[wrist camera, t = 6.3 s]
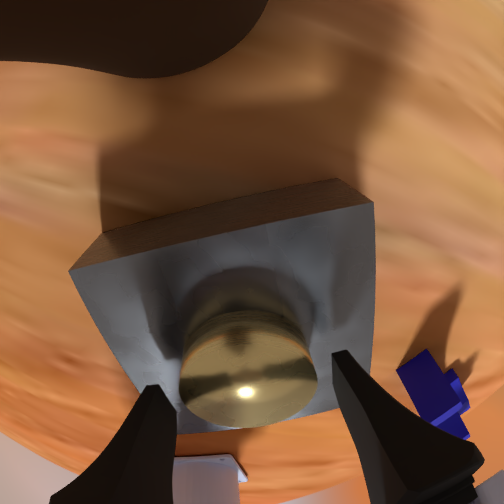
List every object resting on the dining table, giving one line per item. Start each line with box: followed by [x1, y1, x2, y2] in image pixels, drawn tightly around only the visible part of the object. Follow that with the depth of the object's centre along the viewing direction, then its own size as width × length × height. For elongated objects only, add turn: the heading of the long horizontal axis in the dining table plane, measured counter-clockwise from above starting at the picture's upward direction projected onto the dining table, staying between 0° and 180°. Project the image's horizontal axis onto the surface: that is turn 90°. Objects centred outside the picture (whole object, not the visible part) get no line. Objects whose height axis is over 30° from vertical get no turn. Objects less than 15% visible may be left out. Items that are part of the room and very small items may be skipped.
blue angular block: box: [396, 349, 470, 440], centre depth 20 cm, size 12×4×6 cm, turn 39°
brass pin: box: [179, 310, 318, 428], centre depth 14 cm, size 6×6×6 cm
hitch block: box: [68, 178, 376, 434], centre depth 15 cm, size 12×12×4 cm
